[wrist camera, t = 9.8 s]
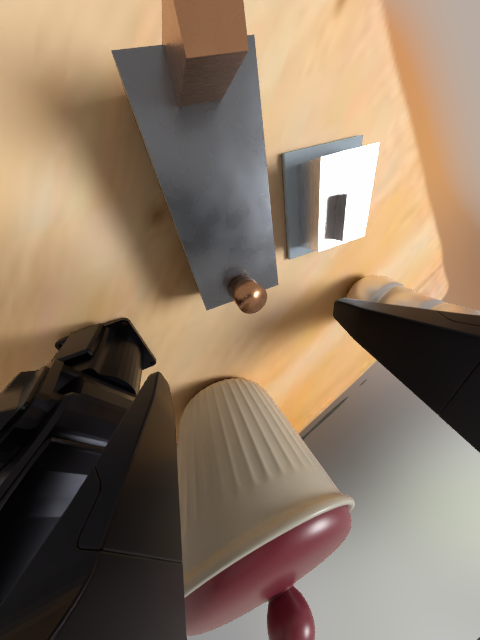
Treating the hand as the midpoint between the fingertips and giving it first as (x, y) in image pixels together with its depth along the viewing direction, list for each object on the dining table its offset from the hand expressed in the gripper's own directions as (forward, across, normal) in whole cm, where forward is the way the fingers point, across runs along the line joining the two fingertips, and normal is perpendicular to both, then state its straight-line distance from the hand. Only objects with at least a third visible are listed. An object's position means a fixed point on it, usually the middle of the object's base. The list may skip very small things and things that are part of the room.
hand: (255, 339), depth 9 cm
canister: (+12, +4, +21) cm, 25 cm away
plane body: (+12, -2, -5) cm, 13 cm away
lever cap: (+12, -13, -3) cm, 18 cm away
